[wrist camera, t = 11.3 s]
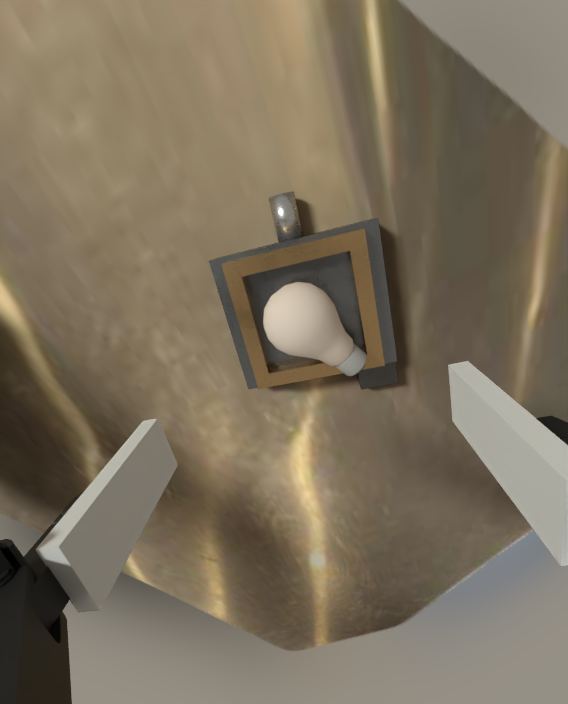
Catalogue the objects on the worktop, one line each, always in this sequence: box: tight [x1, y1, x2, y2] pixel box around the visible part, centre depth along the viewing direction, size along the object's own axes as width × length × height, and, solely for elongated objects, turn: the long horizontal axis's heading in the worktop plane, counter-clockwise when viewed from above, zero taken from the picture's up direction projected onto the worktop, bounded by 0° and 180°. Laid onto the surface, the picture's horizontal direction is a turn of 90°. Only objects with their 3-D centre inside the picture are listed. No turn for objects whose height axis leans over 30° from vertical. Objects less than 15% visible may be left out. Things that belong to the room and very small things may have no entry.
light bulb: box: [263, 282, 367, 376], centre depth 30 cm, size 7×7×11 cm
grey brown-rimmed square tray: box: [209, 192, 398, 389], centre depth 33 cm, size 16×21×4 cm
